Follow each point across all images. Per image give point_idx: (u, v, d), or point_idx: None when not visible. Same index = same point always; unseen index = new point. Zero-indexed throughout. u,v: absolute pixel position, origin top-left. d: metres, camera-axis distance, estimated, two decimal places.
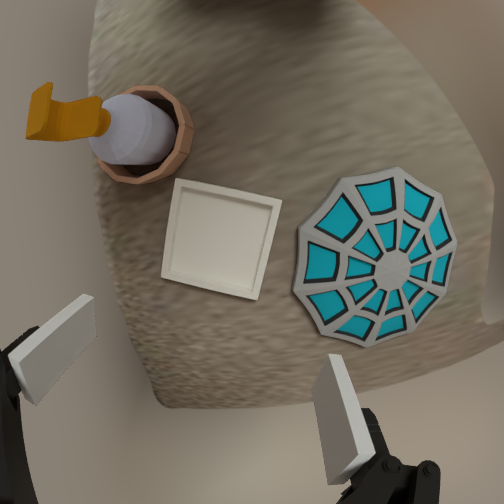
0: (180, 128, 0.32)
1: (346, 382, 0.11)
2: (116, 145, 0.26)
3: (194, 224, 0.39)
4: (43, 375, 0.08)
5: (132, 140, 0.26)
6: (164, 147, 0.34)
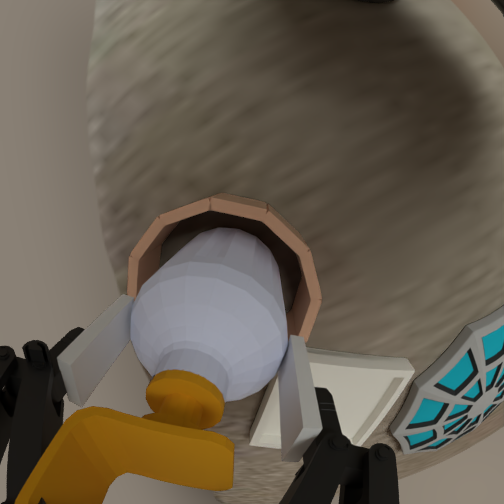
0: (312, 306, 0.19)
1: (304, 361, 0.12)
2: None
3: None
4: (90, 376, 0.10)
5: (255, 388, 0.13)
6: None
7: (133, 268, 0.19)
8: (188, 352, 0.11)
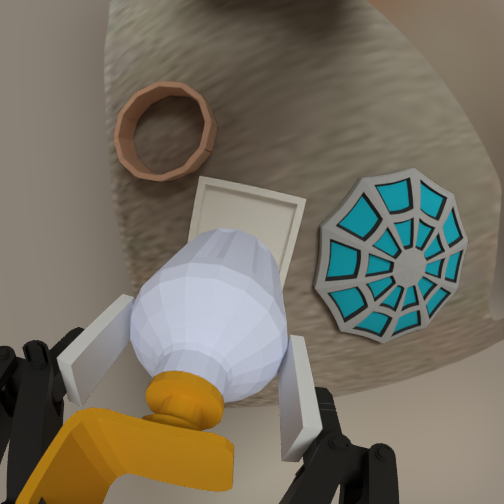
0: (206, 125, 0.32)
1: (303, 361, 0.12)
2: None
3: (217, 222, 0.39)
4: (90, 376, 0.10)
5: (254, 389, 0.13)
6: None
7: (119, 119, 0.32)
8: (188, 353, 0.11)
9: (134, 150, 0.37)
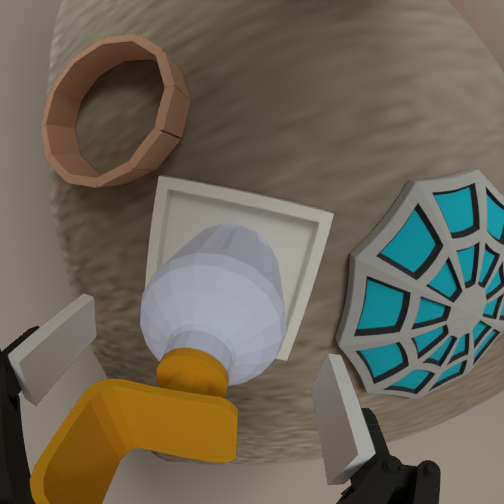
0: (166, 92, 0.17)
1: (346, 382, 0.11)
2: None
3: None
4: (43, 375, 0.08)
5: (256, 371, 0.15)
6: None
7: (50, 98, 0.17)
8: (195, 333, 0.12)
9: (75, 142, 0.23)
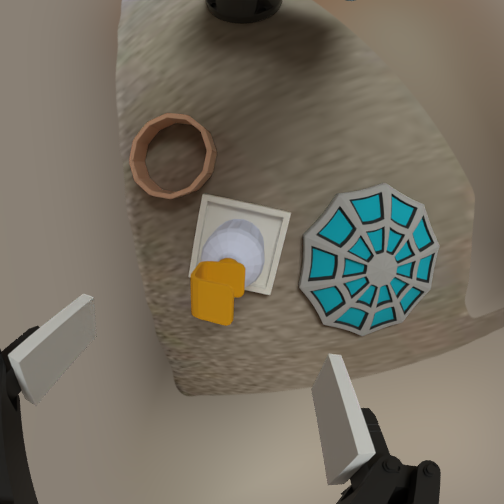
0: (207, 153, 0.40)
1: (346, 382, 0.11)
2: None
3: None
4: (43, 375, 0.08)
5: (251, 278, 0.38)
6: None
7: (134, 145, 0.40)
8: (229, 255, 0.35)
9: (146, 170, 0.46)
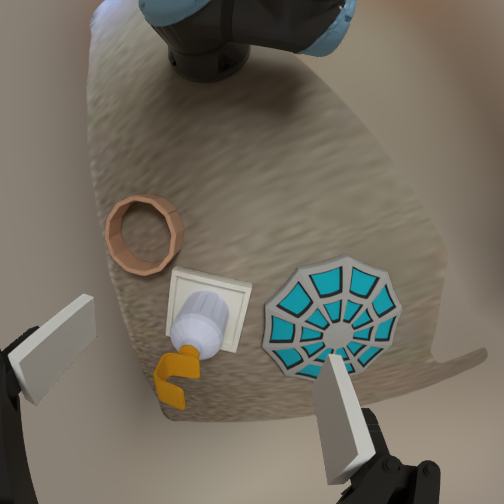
0: (172, 237, 0.45)
1: (346, 382, 0.11)
2: (200, 357, 0.42)
3: None
4: (43, 375, 0.08)
5: (211, 353, 0.42)
6: None
7: (107, 224, 0.45)
8: (190, 340, 0.39)
9: (122, 242, 0.50)
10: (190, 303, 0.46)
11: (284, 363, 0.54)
